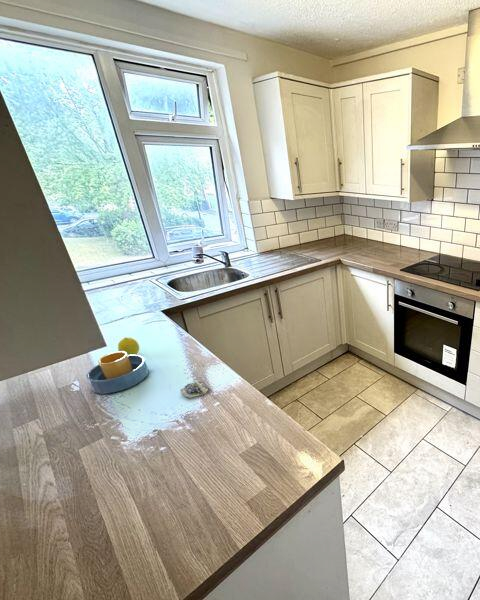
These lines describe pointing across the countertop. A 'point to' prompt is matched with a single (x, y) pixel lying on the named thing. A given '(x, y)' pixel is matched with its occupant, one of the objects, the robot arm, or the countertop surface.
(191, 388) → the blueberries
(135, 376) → the bowl
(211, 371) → the countertop surface
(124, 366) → the cup
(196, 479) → the countertop surface
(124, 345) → the lemon
